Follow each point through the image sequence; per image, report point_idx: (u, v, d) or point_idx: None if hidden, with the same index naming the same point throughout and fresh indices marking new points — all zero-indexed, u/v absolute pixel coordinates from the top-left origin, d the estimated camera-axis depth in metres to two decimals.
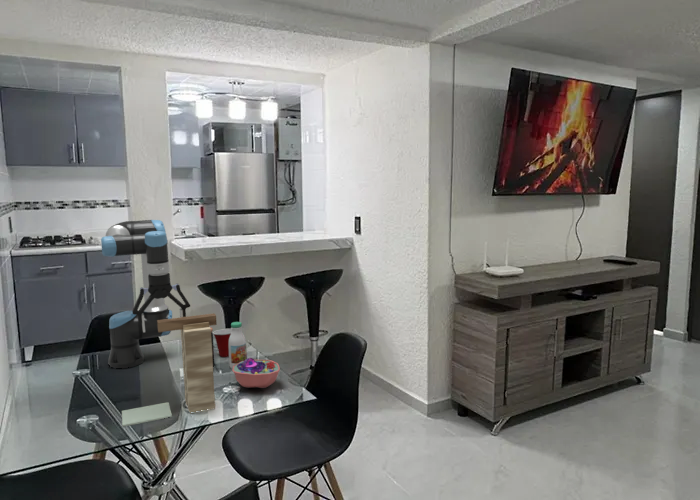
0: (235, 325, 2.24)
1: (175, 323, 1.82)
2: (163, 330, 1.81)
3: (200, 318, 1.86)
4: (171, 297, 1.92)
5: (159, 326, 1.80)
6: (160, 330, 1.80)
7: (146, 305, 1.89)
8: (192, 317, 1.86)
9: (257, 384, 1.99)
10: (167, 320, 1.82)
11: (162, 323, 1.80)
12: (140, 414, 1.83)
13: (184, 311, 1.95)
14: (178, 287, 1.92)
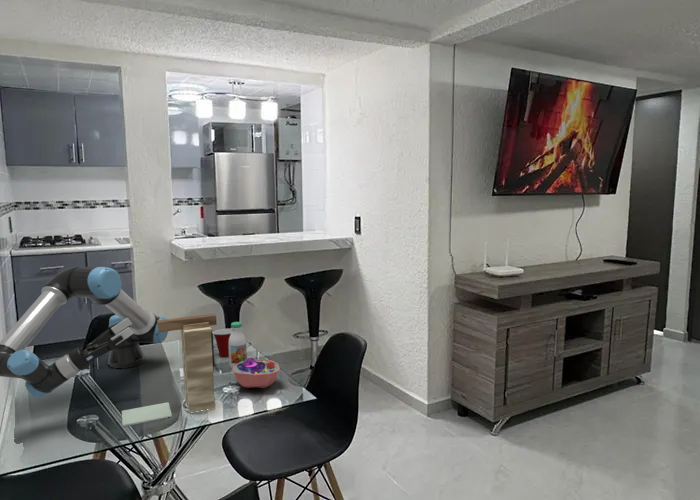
0: (235, 325, 2.24)
1: (175, 323, 1.82)
2: (163, 330, 1.81)
3: (200, 318, 1.86)
4: None
5: (159, 326, 1.80)
6: (160, 330, 1.80)
7: None
8: (192, 317, 1.86)
9: (257, 384, 1.99)
10: (167, 320, 1.82)
11: (162, 323, 1.80)
12: (140, 414, 1.83)
13: None
14: None
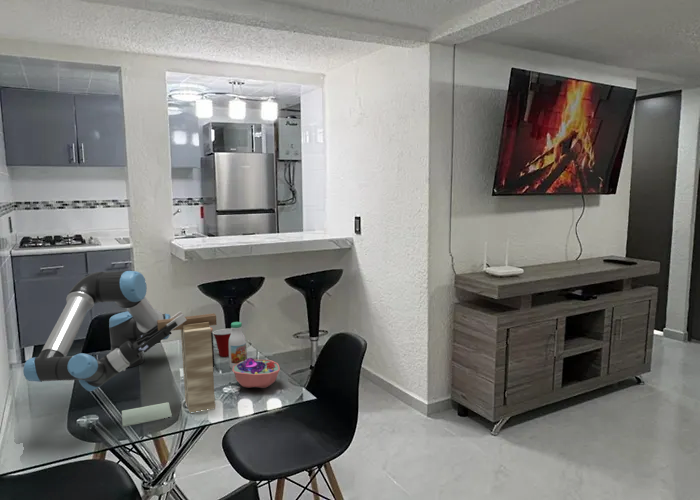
0: (235, 325, 2.24)
1: None
2: None
3: (200, 318, 1.86)
4: None
5: (159, 326, 1.80)
6: None
7: None
8: (192, 317, 1.86)
9: (257, 384, 1.99)
10: (167, 320, 1.82)
11: (162, 323, 1.80)
12: (140, 414, 1.83)
13: None
14: None
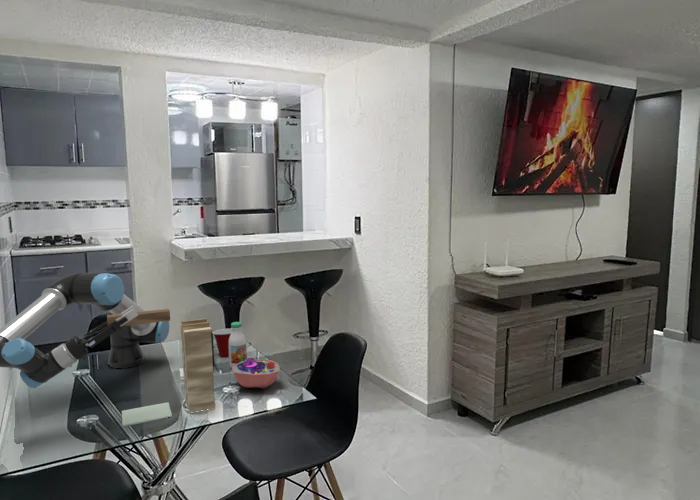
0: (235, 325, 2.24)
1: None
2: None
3: (152, 313, 1.79)
4: None
5: (108, 321, 1.73)
6: None
7: None
8: (144, 312, 1.79)
9: (257, 384, 1.99)
10: (117, 315, 1.75)
11: (111, 318, 1.73)
12: (140, 414, 1.83)
13: None
14: None
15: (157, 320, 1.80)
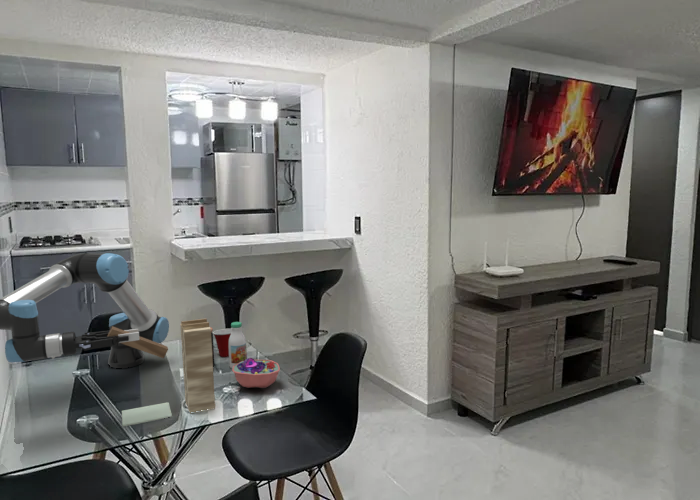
0: (235, 325, 2.24)
1: None
2: None
3: (152, 344, 1.80)
4: None
5: (111, 333, 1.74)
6: None
7: None
8: (145, 340, 1.80)
9: (257, 384, 1.99)
10: (121, 331, 1.76)
11: (115, 331, 1.74)
12: (140, 414, 1.83)
13: None
14: None
15: (153, 352, 1.80)
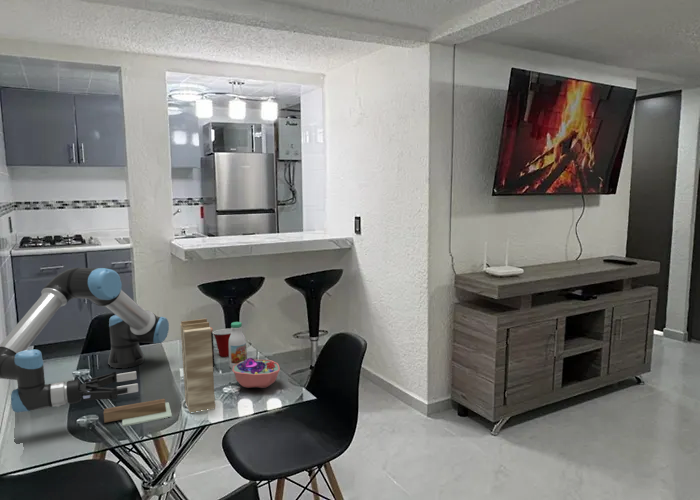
0: (235, 325, 2.24)
1: (122, 412, 1.79)
2: (109, 420, 1.78)
3: (148, 406, 1.82)
4: None
5: (105, 416, 1.77)
6: (106, 420, 1.77)
7: None
8: (140, 405, 1.82)
9: (257, 384, 1.99)
10: (114, 409, 1.79)
11: (108, 413, 1.77)
12: None
13: None
14: None
15: (153, 412, 1.83)
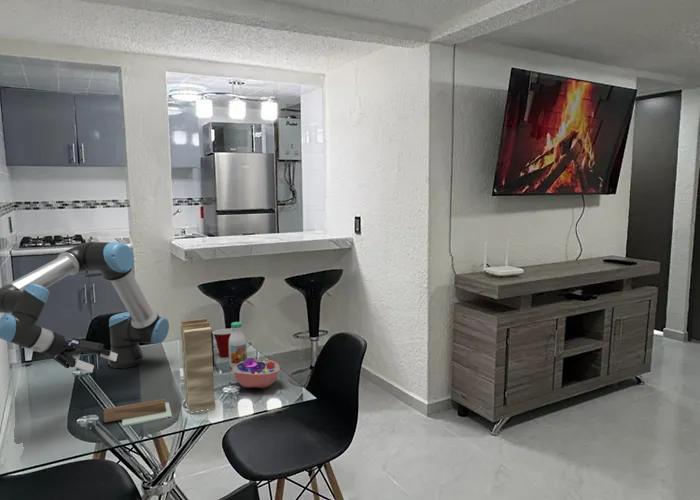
0: (235, 325, 2.24)
1: (122, 412, 1.79)
2: (109, 420, 1.78)
3: (148, 406, 1.82)
4: (78, 352, 1.74)
5: (105, 416, 1.77)
6: (106, 420, 1.77)
7: (68, 361, 1.79)
8: (140, 405, 1.82)
9: (257, 384, 1.99)
10: (114, 409, 1.79)
11: (108, 413, 1.77)
12: None
13: (103, 353, 1.77)
14: (74, 345, 1.71)
15: (153, 412, 1.83)
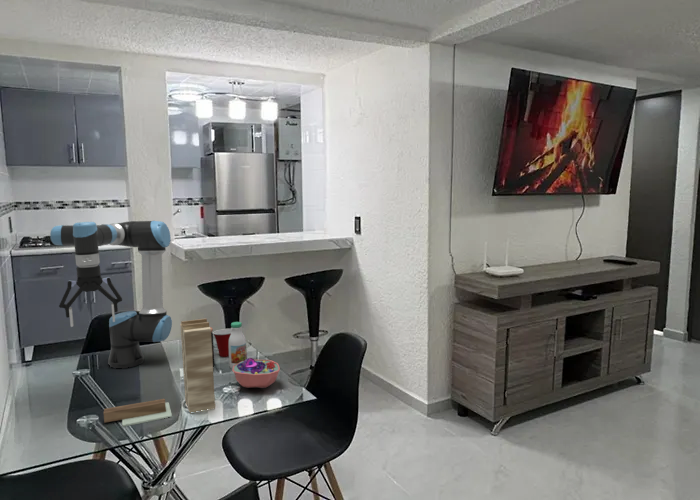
0: (235, 325, 2.24)
1: (122, 412, 1.79)
2: (109, 420, 1.78)
3: (148, 406, 1.82)
4: (101, 290, 1.85)
5: (105, 416, 1.77)
6: (106, 420, 1.77)
7: (74, 298, 1.82)
8: (140, 405, 1.82)
9: (257, 384, 1.99)
10: (114, 409, 1.79)
11: (108, 413, 1.77)
12: None
13: (116, 305, 1.88)
14: (109, 280, 1.86)
15: (153, 412, 1.83)
